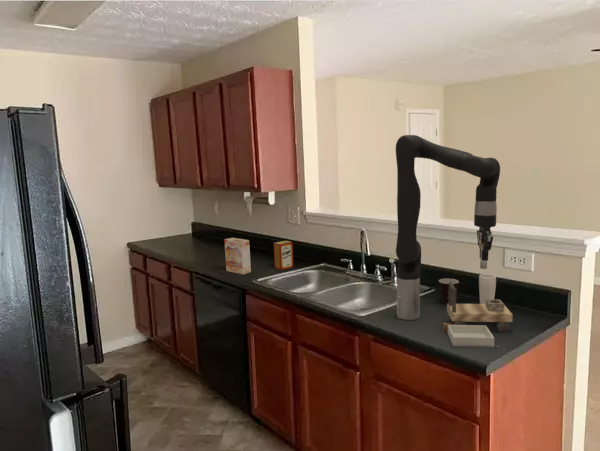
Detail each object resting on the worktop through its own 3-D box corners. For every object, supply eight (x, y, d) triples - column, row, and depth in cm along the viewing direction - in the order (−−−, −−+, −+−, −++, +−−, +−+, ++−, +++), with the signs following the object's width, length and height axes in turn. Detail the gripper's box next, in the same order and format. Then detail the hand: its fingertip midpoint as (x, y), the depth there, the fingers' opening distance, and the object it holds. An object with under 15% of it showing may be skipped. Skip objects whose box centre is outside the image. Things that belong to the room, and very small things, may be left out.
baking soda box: (280, 270, 287) (279, 243, 285) (274, 268, 293) (273, 242, 290) (293, 267, 293) (292, 241, 290) (287, 265, 298) (286, 240, 296)
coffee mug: (438, 304, 216) (438, 283, 214) (438, 299, 224) (438, 278, 222) (465, 306, 213) (466, 284, 211) (464, 300, 221) (465, 279, 219)
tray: (453, 346, 171) (453, 337, 171) (447, 333, 183) (447, 324, 183) (494, 347, 170) (494, 337, 169) (485, 334, 181) (485, 325, 181)
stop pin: (479, 269, 177) (480, 241, 175) (477, 266, 180) (478, 239, 178) (489, 269, 176) (491, 241, 175) (487, 266, 180) (488, 239, 178)
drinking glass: (478, 306, 212) (479, 273, 210) (495, 307, 210) (496, 274, 207) (477, 311, 206) (478, 277, 204) (494, 312, 203) (496, 278, 201)
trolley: (451, 331, 185) (452, 289, 182) (446, 320, 197) (447, 281, 194) (511, 332, 182) (513, 290, 179) (503, 321, 194) (504, 281, 191)
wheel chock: (444, 332, 185) (444, 325, 184) (443, 329, 187) (443, 322, 187) (454, 332, 184) (454, 325, 184) (452, 329, 187) (452, 322, 186)
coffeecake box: (225, 271, 290) (223, 239, 286) (234, 268, 295) (232, 237, 292) (242, 274, 280) (240, 241, 277) (251, 272, 285) (249, 239, 282)
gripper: (470, 210, 182) (468, 255, 185) (479, 216, 168) (477, 264, 171) (490, 210, 181) (489, 255, 184) (501, 215, 168) (499, 264, 170)
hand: (483, 259), depth 178 cm, fingers closed on stop pin, 2 cm apart
